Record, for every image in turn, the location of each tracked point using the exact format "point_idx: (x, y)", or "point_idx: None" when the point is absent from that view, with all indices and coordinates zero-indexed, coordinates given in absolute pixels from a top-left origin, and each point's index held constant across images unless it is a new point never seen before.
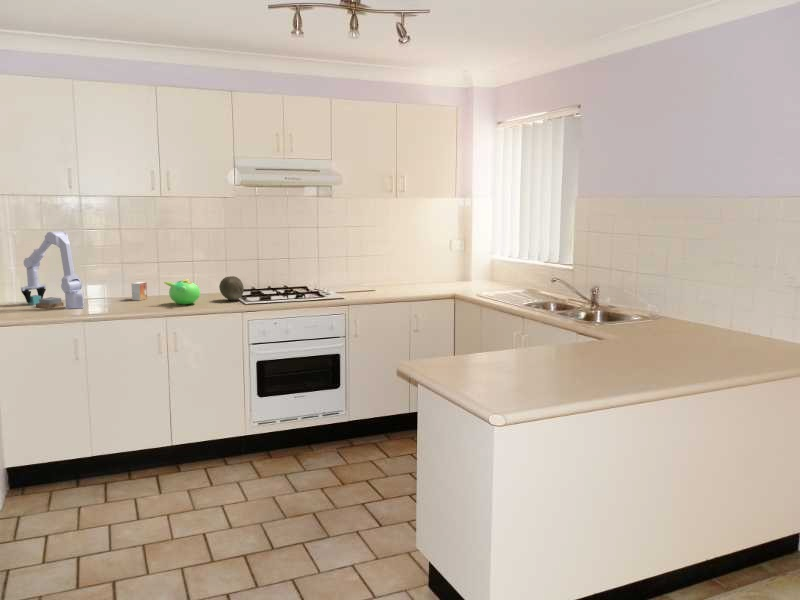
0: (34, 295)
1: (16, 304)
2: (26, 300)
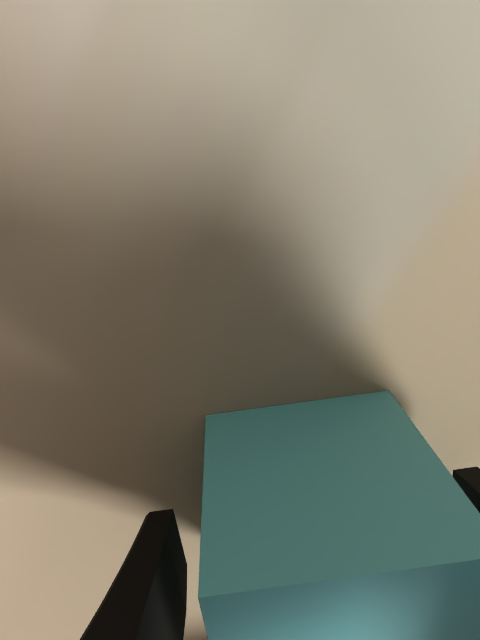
0: (438, 599)
1: (33, 187)
2: (131, 558)
